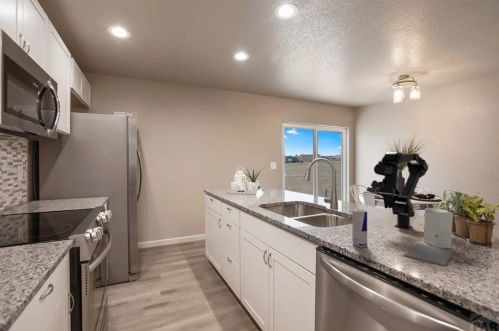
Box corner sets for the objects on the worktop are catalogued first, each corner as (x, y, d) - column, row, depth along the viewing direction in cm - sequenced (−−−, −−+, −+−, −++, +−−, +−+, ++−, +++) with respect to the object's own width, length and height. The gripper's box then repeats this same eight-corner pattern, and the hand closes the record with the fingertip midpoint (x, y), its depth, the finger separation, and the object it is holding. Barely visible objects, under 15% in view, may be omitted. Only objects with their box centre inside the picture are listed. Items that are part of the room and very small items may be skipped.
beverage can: (366, 248, 98) (366, 211, 97) (351, 246, 101) (351, 210, 100) (368, 244, 102) (368, 209, 102) (353, 242, 105) (353, 208, 105)
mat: (417, 244, 102) (417, 242, 102) (454, 252, 93) (454, 250, 93) (403, 256, 90) (403, 254, 90) (444, 266, 81) (444, 264, 81)
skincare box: (423, 241, 105) (423, 207, 105) (437, 241, 105) (437, 207, 105) (438, 248, 97) (438, 211, 97) (453, 248, 97) (453, 211, 97)
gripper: (377, 177, 134) (374, 205, 133) (368, 174, 120) (365, 205, 119) (401, 179, 127) (398, 209, 126) (394, 176, 113) (391, 209, 112)
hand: (388, 208), depth 121 cm, fingers open, 9 cm apart
